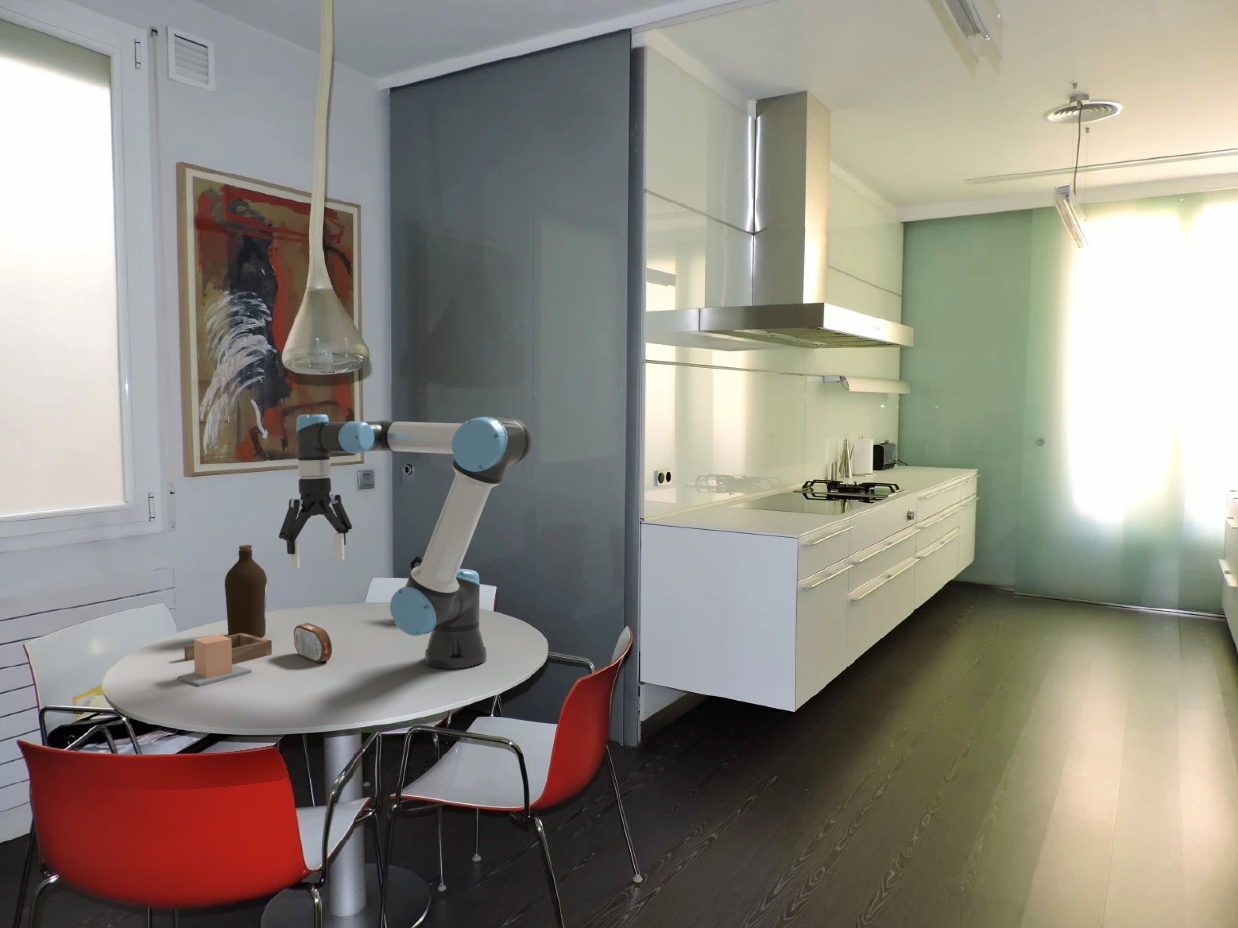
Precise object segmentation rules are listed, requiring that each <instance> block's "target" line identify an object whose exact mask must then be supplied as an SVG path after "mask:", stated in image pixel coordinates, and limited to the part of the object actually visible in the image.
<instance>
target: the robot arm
mask: <svg viewBox="0 0 1238 928" xmlns="http://www.w3.org/2000/svg"><path fill="white" fill-rule="evenodd" d="M295 427H296V428H295V429H296V431H295V434H296V447H297V448H296V449H297V450H296V451H297V473H298V475H297V476H298V477H300V478H299V480H298V492H299V495H300V498H299V499H298V498H290V499H289V501H288V509H287V513H286V514H285V518H284V520H283V523H282V526H281V529H280V531H279V534H278V538H279V539H280V540H281V539H282V540H283V541H286V552H287V555H289V567H290V568H296V569H299V568H301V559H300V558H301V557H300V556H301V555H300V540H298V539H297V538H298V537H299V536H300V533H301V531H302V530H303V528H304V526H305V525H306V523H307V521H308V520H309V519H310V518H312V517H314V516H315V517H316V516H318V515H322V516H324V518H325V519H326V520H327V521H328V523H329V524H330V525H331V526H332V527H333V528H334V530H335V531H336V532H335V533H333V538H334V539H333V540H334V541H333V542H334V544H333V545H334V559H336V560H345V557H346V556H345V546H346V543H347V539H346V537H347V534H348V533H349V531H350V530H352V529H353V525H352V523H351V521H350V518H349V517H348V513H347V512H346V510H345V507H344V506H343V503H342V496H341V494H333V493H332V494H330V493H331V492H332V479H331V478H330V475H332V474H331V470H332V469H331V457H330V456H331V454H333V453H334V454H337V453H338V454H361V453H366V452H407V453H408V452H409V453H425V454H426V453H429V454H446V455H447V454H449V455H453V458H454V460H453V462H452V464H451V465H452V469H453V471H454V473H455V476H454V479H453V481H452V484H451V487H450V489H449V491H448V494H447V497H446V499H445V501H444V504H443V507H442V509H441V511H440V515H439V518H438V519H437V522H436V524H435V527H434V530H433V532H432V536H431V537H430V538H431V539H430V540H429V543H428V545H427V548H426V550H425V553H424V556H423V557H422V558H423V561H422V563H421V564H420V565H418V566H415V568H413V569H412V570H411V571H410V574H409V575H408V579H407V581H406V584H405V586H403V587H401V588H398V590H396V591H395V592H394V593H393V595H392V597H391V600H390V603H389V604H390V605H389V609H390V615H391V617H392V619H393V622H394V624H395V626H397V628H398V629H399V630H401V632H403V633H404V634H407V635H408V636H409V635H410V636H415V637H417V636H422V635H427V634H430V637H429V639H428V643H427V648H426V649H425V652H424V663H425V664H426V665H427V666H430V667H433V668H438V669H446V670H447V669H449V670H450V669H451V670H452V669H466V668H465V667H467V668H471V667H470V666H472V667H475V666H474V665H476V666H478V665H477V664H479V663H481V664H483V663H485V662H486V661H487V648H486V646H485V645H484V641H483V637H482V634H481V630H480V629H481V628H480V587H481V584H480V575H479V573H478V572H477V571H476V570H472V569H465V568H461V566H462V563H463V560H464V559H465V555H466V553H467V551H468V548H469V546H470V543H471V540H472V539H473V535H474V534H475V530H476V527H477V525H478V523H479V519H480V518H481V515H482V514H483V513H482V512H483V510H484V507H485V505H486V503H487V500H488V497H489V495H490V493H491V490H492V488H494V487H498V486H499V485H500V484H501V483H502V481H503V478H504V475H505V473H506V471H507V468H508V467H509V468H510V467H513V466H517V465H519V464H520V463H522V462H523V461H525V460H526V458H527V457H528V456H529V454H530V452H531V449H532V446H533V438H532V434H531V431H530V430H529V428H528V426H527V425H526V424H525V423H524V422H523V421H521V419H518V418H515V417H511V416H497V417H496V416H495V417H493V416H492V417H491V416H479V417H476V418H471V419H468V420H466V421H465V422H464V423H456V422H455V423H451V422H427V421H425V422H424V421H423V422H422V421H420V422H419V421H418V422H417V421H391V420H373V421H372V420H371V421H366V420H365V421H358V420H355V421H351V420H350V421H336V422H335V421H334V422H333V421H330V420H329V416H328V415H327V414H321V413H320V414H300V415H298V416H297V418H296V426H295ZM330 504H331V505H330ZM485 660H486V661H485ZM484 661H485V662H484ZM482 662H483V663H482ZM479 665H480V664H479Z"/></svg>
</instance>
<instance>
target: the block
mask: <svg viewBox="0 0 1238 928" xmlns="http://www.w3.org/2000/svg"><path fill="white" fill-rule="evenodd" d="M225 636H226V635H223V634H220V633H219V634H214V635H208V636H204V637H203V636H202V637H200V638H199V637H198V638H194V639H193V644H194V659H193V660H194V672H195V673H196V674H198V675H200V676H203V677H205V678H210V677H214V676H218V675H223V674H227V673H232V644H231V639H230V638H228V637H225Z"/></svg>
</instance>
